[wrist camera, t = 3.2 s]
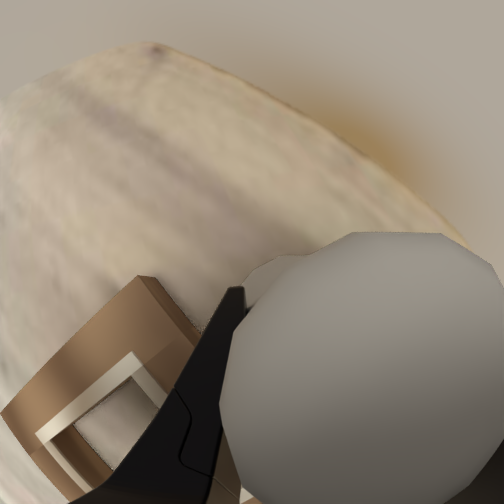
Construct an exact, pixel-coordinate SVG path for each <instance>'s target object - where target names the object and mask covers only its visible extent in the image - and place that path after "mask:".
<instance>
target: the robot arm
mask: <svg viewBox="0 0 504 504" xmlns="http://www.w3.org/2000/svg"><path fill="white" fill-rule="evenodd" d="M247 314H248V313H247V302H246V294H245V288H244V287H243V286H234V287H229V288H228V290H227V291H226V293H225V295H224V297H223V298H222V300H221V302H220V304H219V305H218V307H217V309H216V311H215V312H214V314H213V316H212V318H211V320H210V321H209V323H208V325H207V327H206V328H205V330H204V332H203V334H202V335H201V337H200V339H199V341H198V343H197V344H196V346H195V348H194V350H193V351H192V353H191V355H190V357H189V358H188V360H187V362H186V364H185V366H184V367H183V369H182V371H181V373H180V374H179V376H178V378H177V380H176V382H175V383H174V385H173V387H174V388H171V390H170V392H169V394H168V396H167V397H166V399H165V401H164V402H163V404H162V406H161V407H160V409H159V411H158V412H157V414H156V416H155V417H154V419H153V420H152V421H151V423H150V424H149V426H148V427H147V428H146V430H145V431H144V433H143V434H142V435H141V437H140V438H139V439H138V441H137V442H136V443H135V445H134V446H133V447H132V449H131V450H130V451H129V453H128V454H127V455H126V457H125V458H124V459H123V460H122V462H121V463H120V464H119V466H118V467H117V468H116V470H115V471H114V472H113V473H112V474H111V475H110V476H109V477H108V478H107V479H106V480H105V481H104V482H103V483H102V484H100V485H99V486H98V487H96V488H94V489H93V490H91V491H89V492H88V493H86V494H84V495H82V496H81V497H79V498H77V499H75V500H73V501H72V502H70V503H68V504H240V501H239V500H240V492H241V481H240V478H239V475H238V472H237V469H236V466H235V463H234V460H233V457H232V454H231V451H230V448H229V444H228V441H227V438H226V435H225V431H224V428H223V425H222V419H221V413H220V406H219V401H220V396H221V391H222V387H223V382H224V377H225V372H226V367H227V362H228V357H229V352H230V347H231V342H232V337H233V332H234V330H235V329H236V328H237V327H238V325H239V324H240V323H241V322H242V321H243V319H244V318H245V317H246V316H247ZM444 504H504V439H503V441H502V442H501V444H500V445H499V447H498V448H497V450H496V451H495V452H494V454H493V455H492V457H491V458H490V459H489V461H488V462H487V463H486V465H485V466H484V467H483V468H482V470H481V471H480V472H479V474H478V475H477V476H476V477H475V479H474V480H473V481H472V482H471V483H470V485H469V486H467V487H466V488H465V489H463V490H462V491H461V492H459V493H458V494H457V495H455V496H454V497H452V498H451V499H450V500H448V501H447V502H445V503H444Z"/></svg>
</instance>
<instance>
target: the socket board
mask: <svg viewBox="0 0 504 504" xmlns="http://www.w3.org/2000/svg"><path fill="white" fill-rule="evenodd" d="M200 337H201V334H200V333H199V332H198V331H197V329H196V328H195V327H194V326H193V325H192V323H191V322H190V321H189V320H188V319H187V317H186V316H185V315H184V314H183V312H182V311H181V310H180V309H179V307H178V306H177V305H176V304H175V302H174V301H173V300H172V299H171V297H170V296H169V295H168V293H167V292H166V291H165V290H164V288H163V287H162V286H161V284H160V283H159V282H158V281H157V279H156V278H154V277H147V276H140V275H137V276H136V277H135V278H134V279H133V280H132V281H131V282H130V283H128V284H127V285H126V286H125V287H124V288H123V289H122V290H121V291H120V292H119V293H118V294H117V295H115V296H114V297H113V298H112V299H111V300H110V301H109V302H108V303H107V304H106V305H105V306H104V307H103V308H102V309H101V310H100V311H98V312H97V313H96V314H95V315H94V316H93V317H92V318H91V319H90V320H89V321H88V322H87V323H86V324H85V325H84V326H83V327H82V328H81V329H80V330H79V331H78V332H77V333H76V334H75V335H74V336H73V337H72V338H71V339H70V340H69V341H68V342H67V343H66V344H65V345H64V346H63V347H62V348H61V349H60V350H59V351H58V352H57V353H56V354H55V355H54V356H53V357H52V358H51V359H50V360H49V361H48V362H47V363H46V364H45V365H44V366H43V367H42V368H41V369H40V370H39V371H38V372H37V373H36V374H35V376H34V377H33V378H32V379H31V380H30V381H29V382H28V383H27V384H26V385H25V386H24V387H23V388H22V389H21V390H20V392H19V393H18V394H17V395H16V396H15V397H14V398H13V399H12V400H11V401H10V403H9V404H8V405H7V406H6V407H5V408H4V409H3V410H2V412H1V413H0V414H1V416H2V418H3V419H4V421H5V422H6V424H7V425H8V427H9V428H10V430H11V431H12V433H13V434H14V436H15V437H16V438H17V440H18V441H19V443H20V444H21V445H22V447H23V448H24V449H25V451H26V452H27V453H28V455H29V456H30V457H31V458H32V460H33V461H34V462H35V463H36V465H37V466H38V467H39V468H40V470H41V471H42V472H43V473H44V474H45V475H46V477H47V478H48V479H49V480H50V481H51V482H52V483H53V485H54V486H55V487H56V488H57V489H58V490H59V491H60V492H61V493H62V494H63V495H64V496H65V497H66V499H67V500H68V501H69V502H72V501H73V500H75V499H77V498H79V497H81V496H82V495H84V494H86V493H88V492H89V491H91V490H93V489H94V488H96V487H98V486H99V485H100V484H102V483H103V482H104V481H105V480H106V479H107V478H108V477H109V476H110V475H111V474H112V473H113V471H112V470H111V469H110V468H109V467H108V466H107V465H106V464H105V463H104V462H103V460H102V459H101V458H100V457H99V456H98V455H97V454H96V453H95V452H94V451H93V449H92V448H91V447H90V446H89V445H88V444H87V442H86V441H85V440H84V439H83V438H82V437H81V435H80V434H79V433H78V432H77V430H76V429H75V428H74V427H73V424H74V423H75V422H76V421H78V420H79V419H80V418H82V417H83V416H84V415H85V414H87V413H88V412H89V411H90V410H92V409H93V408H94V407H95V406H97V405H98V404H99V403H101V402H102V401H103V400H104V399H106V398H107V397H108V396H109V395H111V394H112V393H113V392H114V391H116V390H117V389H118V388H119V387H121V386H122V385H123V384H124V383H126V382H127V381H128V380H129V379H131V378H132V377H133V379H134V380H135V381H136V382H137V384H138V385H139V386H140V387H141V388H142V390H143V391H144V392H145V393H146V394H147V395H148V397H149V398H150V399H151V400H152V401H153V402H154V404H155V405H156V406H157V407H158V408H159V409H160V407H161V406H162V404H163V402H164V401H165V399H166V397H167V396H168V394H169V392H170V390H171V388H174V387H173V385H174V383H175V382H176V380H177V378H178V376H179V374H180V373H181V371H182V369H183V367H184V366H185V364H186V362H187V360H188V358H189V357H190V355H191V353H192V351H193V350H194V348H195V346H196V344H197V343H198V341H199V339H200ZM239 501H240V504H263V503H261V502H260V501H259V500H258V499H256V498H255V497H254V496H253V495H251V494H250V493H249V492H248V491H246V490H245V489H244V488H243V487H242V484H241V492H240V500H239Z"/></svg>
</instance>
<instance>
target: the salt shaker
mask: <svg viewBox="0 0 504 504" xmlns="http://www.w3.org/2000/svg"><path fill="white" fill-rule="evenodd" d="M241 286H243V287H244V288H245V294H246V302H247V313H248V314H247V316H246V317H245V318H244V319H243V321H242V322H241V323H240V324H239V325H238V327H237V328H236V329H235V330H234V332H233V337H232V342H231V347H230V352H229V357H228V362H227V367H226V372H225V377H224V382H223V387H222V391H221V396H220V401H219V406H220V413H221V419H222V425H223V428H224V431H225V435H226V438H227V441H228V444H229V448H230V451H231V454H232V457H233V460H234V463H235V466H236V469H237V472H238V475H239V478H240V481H241V484H242V487H243V488H244V489H245V490H246V491H248V492H249V493H250V494H251V495H253V496H254V497H255V498H256V499H258V500H259V501H260V502H261V503H263V504H444V503H445V502H447V501H448V500H450V499H451V498H452V497H454V496H455V495H457V494H458V493H459V492H461V491H462V490H463V489H465V488H466V487H467V486H469V485H470V483H471V482H472V481H473V480H474V479H475V477H476V476H477V475H478V474H479V472H480V471H481V470H482V468H483V467H484V466H485V465H486V463H487V462H488V461H489V459H490V458H491V457H492V455H493V454H494V452H495V451H496V450H497V448H498V447H499V445H500V444H501V442H502V441H503V439H504V288H503V286H502V284H501V282H500V280H499V278H498V276H497V274H496V272H495V271H494V269H493V267H492V265H491V264H490V263H488V262H487V261H485V260H483V259H482V258H480V257H479V256H477V255H476V254H474V253H473V252H471V251H469V250H468V249H466V248H465V247H463V246H461V245H460V244H458V243H456V242H455V241H453V240H451V239H450V238H448V237H446V236H445V235H443V234H441V233H407V232H354V233H350V234H348V235H346V236H344V237H342V238H340V239H339V240H337V241H335V242H333V243H331V244H329V245H327V246H326V247H324V248H322V249H320V250H318V251H316V252H314V253H312V254H311V255H281V256H279V257H277V258H275V259H273V260H271V261H269V262H267V263H265V264H263V265H262V266H260V267H258V268H256V269H254V270H253V271H252V272H251V273H250V274H249V276H248V277H247V278H246V279H245V281H244V282H243V283H242V284H241Z"/></svg>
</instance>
